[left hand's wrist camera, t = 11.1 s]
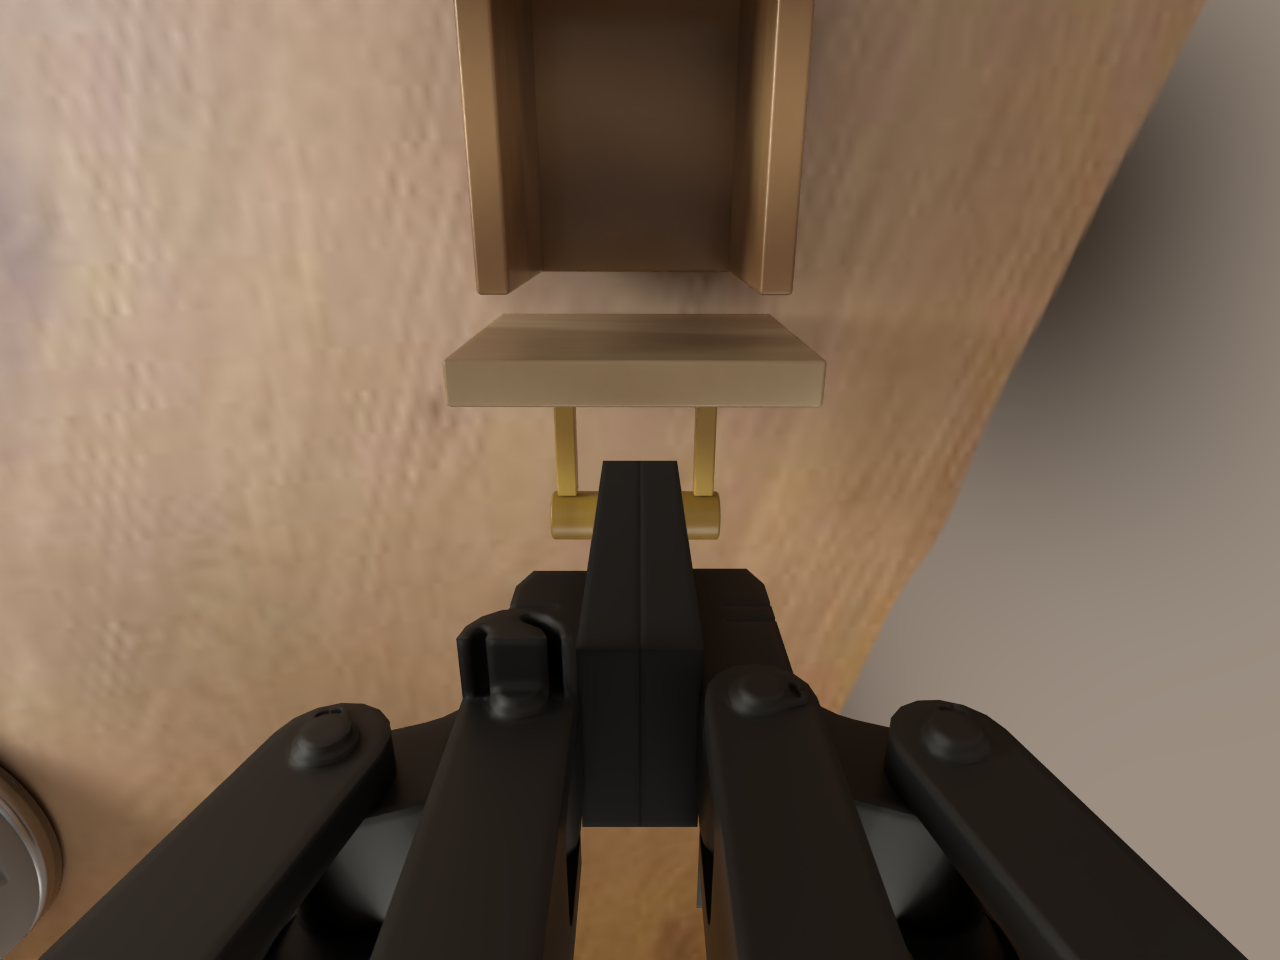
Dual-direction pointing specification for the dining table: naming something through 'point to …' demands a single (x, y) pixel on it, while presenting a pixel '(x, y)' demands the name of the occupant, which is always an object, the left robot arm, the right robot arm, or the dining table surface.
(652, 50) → the drawer
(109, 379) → the dining table surface
